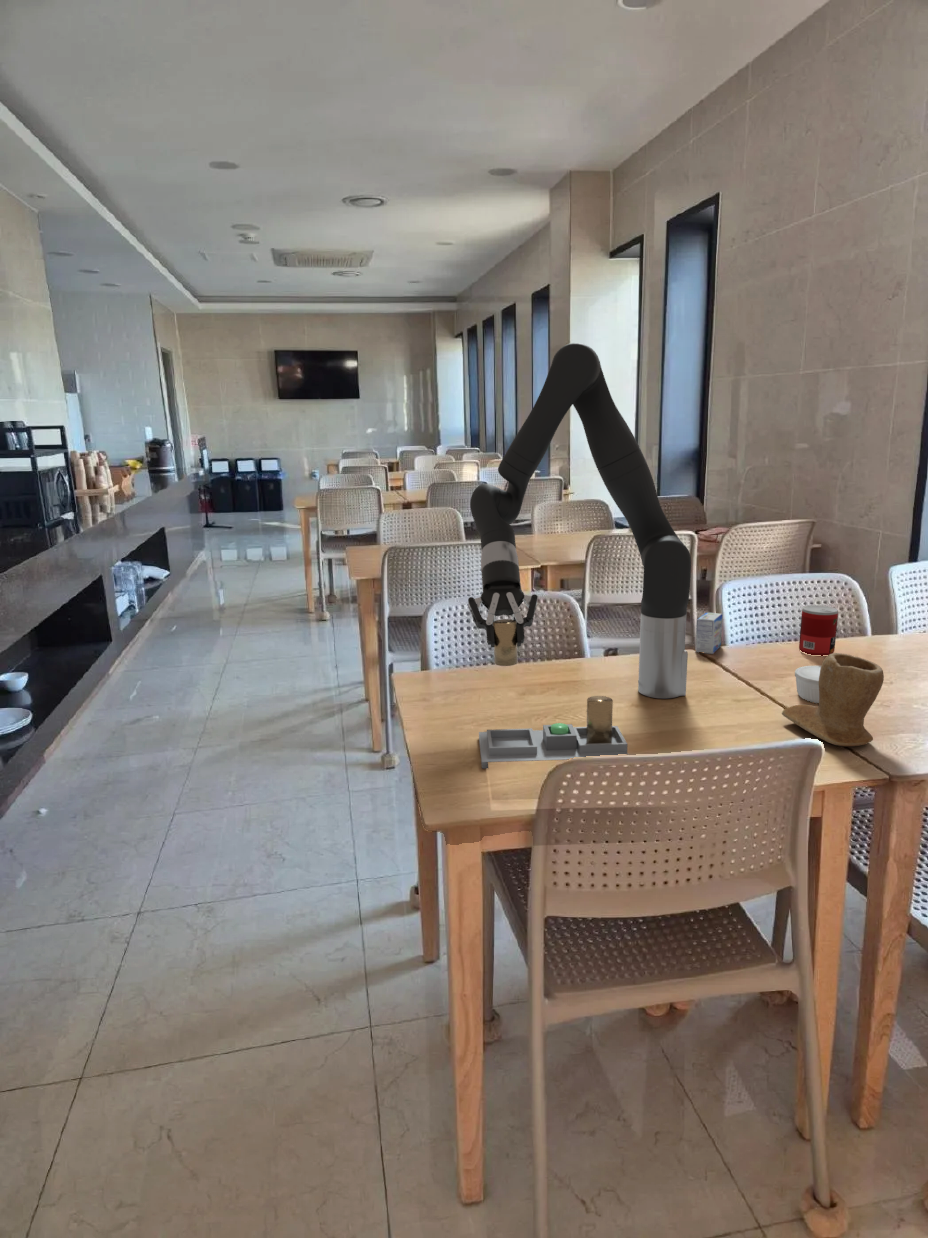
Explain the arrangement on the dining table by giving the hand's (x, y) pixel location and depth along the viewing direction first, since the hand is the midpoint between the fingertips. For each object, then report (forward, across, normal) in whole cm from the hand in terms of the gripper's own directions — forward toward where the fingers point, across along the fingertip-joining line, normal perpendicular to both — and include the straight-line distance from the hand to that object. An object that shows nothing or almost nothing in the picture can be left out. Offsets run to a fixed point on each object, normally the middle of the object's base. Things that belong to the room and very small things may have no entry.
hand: (506, 644), depth 146 cm
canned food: (-17, +78, +42) cm, 90 cm away
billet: (+2, 0, +4) cm, 5 cm away
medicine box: (-20, +53, +45) cm, 73 cm away
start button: (+19, +8, +1) cm, 21 cm away
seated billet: (+20, +15, +2) cm, 25 cm away
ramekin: (+5, +66, +20) cm, 69 cm away
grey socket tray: (+20, +7, +2) cm, 22 cm away
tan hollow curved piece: (+19, +59, +6) cm, 62 cm away
